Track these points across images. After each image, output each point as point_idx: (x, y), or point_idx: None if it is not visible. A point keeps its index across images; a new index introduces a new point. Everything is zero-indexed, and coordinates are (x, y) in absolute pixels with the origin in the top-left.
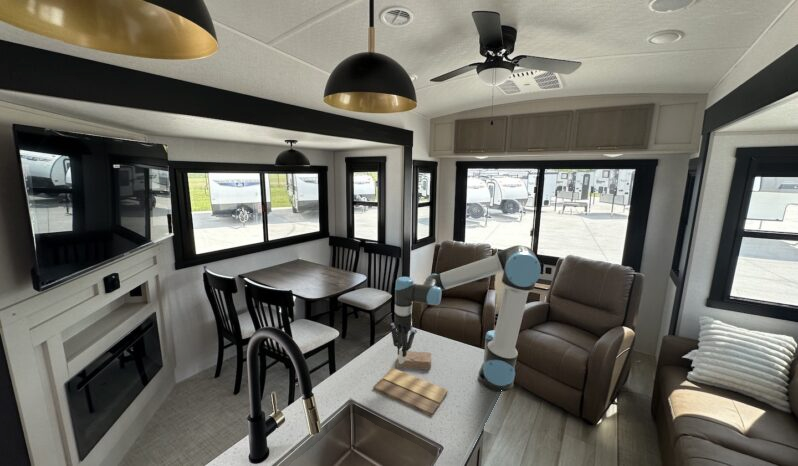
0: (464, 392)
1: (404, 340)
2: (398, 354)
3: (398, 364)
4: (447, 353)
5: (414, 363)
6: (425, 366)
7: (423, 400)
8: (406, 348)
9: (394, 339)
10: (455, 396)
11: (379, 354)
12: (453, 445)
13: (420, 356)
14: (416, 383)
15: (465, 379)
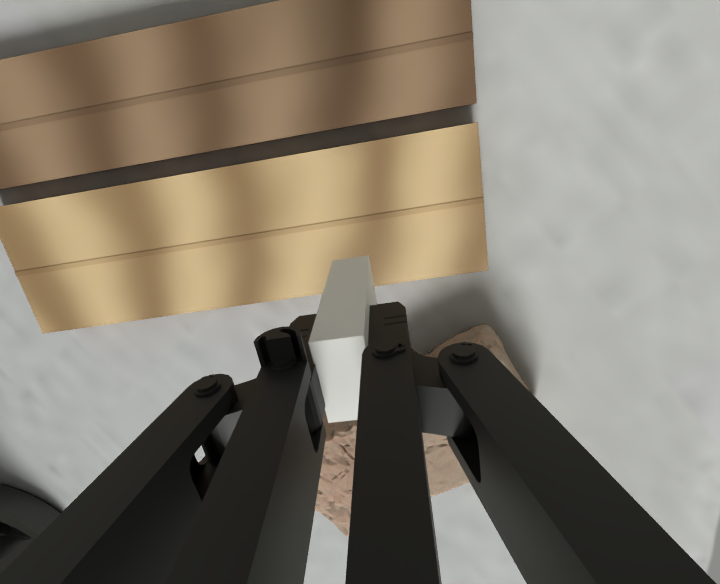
0: (16, 388)
1: (201, 520)
2: (388, 305)
3: (477, 334)
4: (317, 577)
5: None
6: None
7: (64, 145)
8: (211, 395)
9: (507, 435)
10: (17, 331)
11: (685, 343)
12: None
13: None
14: (226, 252)
15: (96, 471)
